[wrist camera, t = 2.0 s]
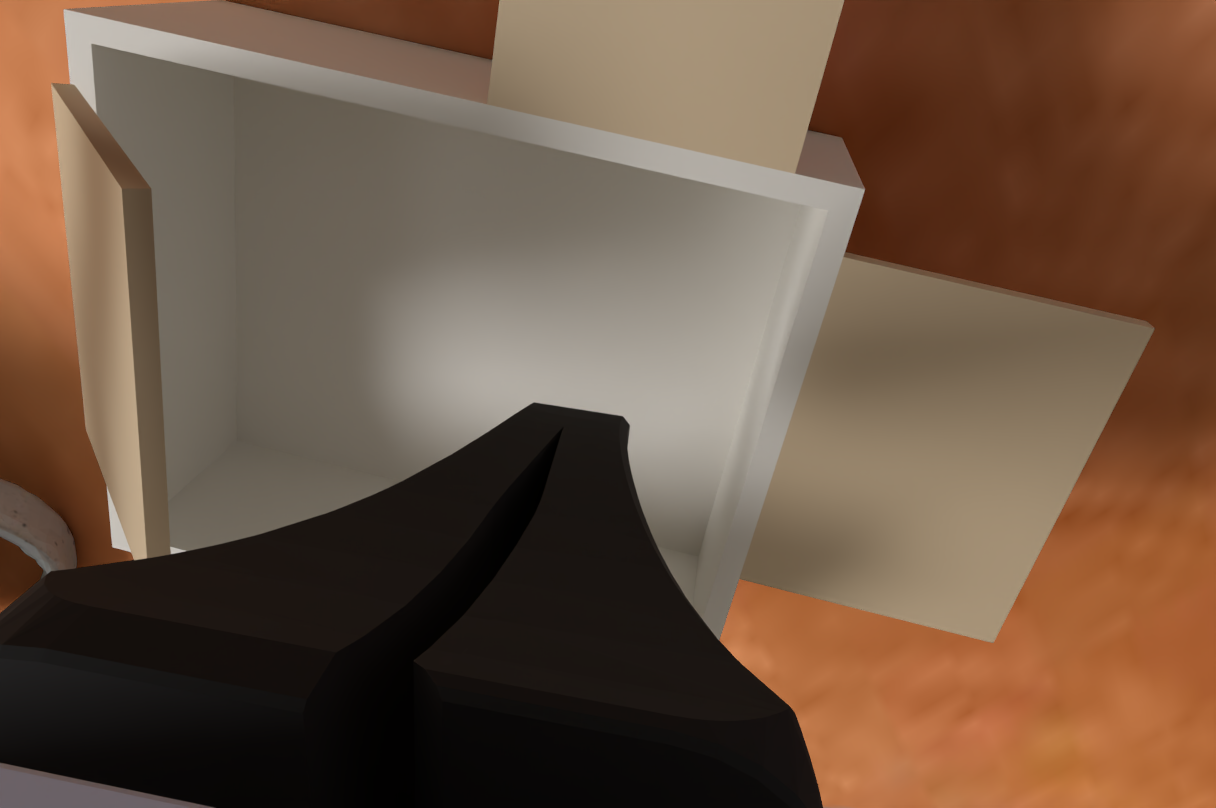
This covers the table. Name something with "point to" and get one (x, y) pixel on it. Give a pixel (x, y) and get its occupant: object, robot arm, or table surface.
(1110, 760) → the table surface
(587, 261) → the carton
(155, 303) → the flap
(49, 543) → the ceramic mug
